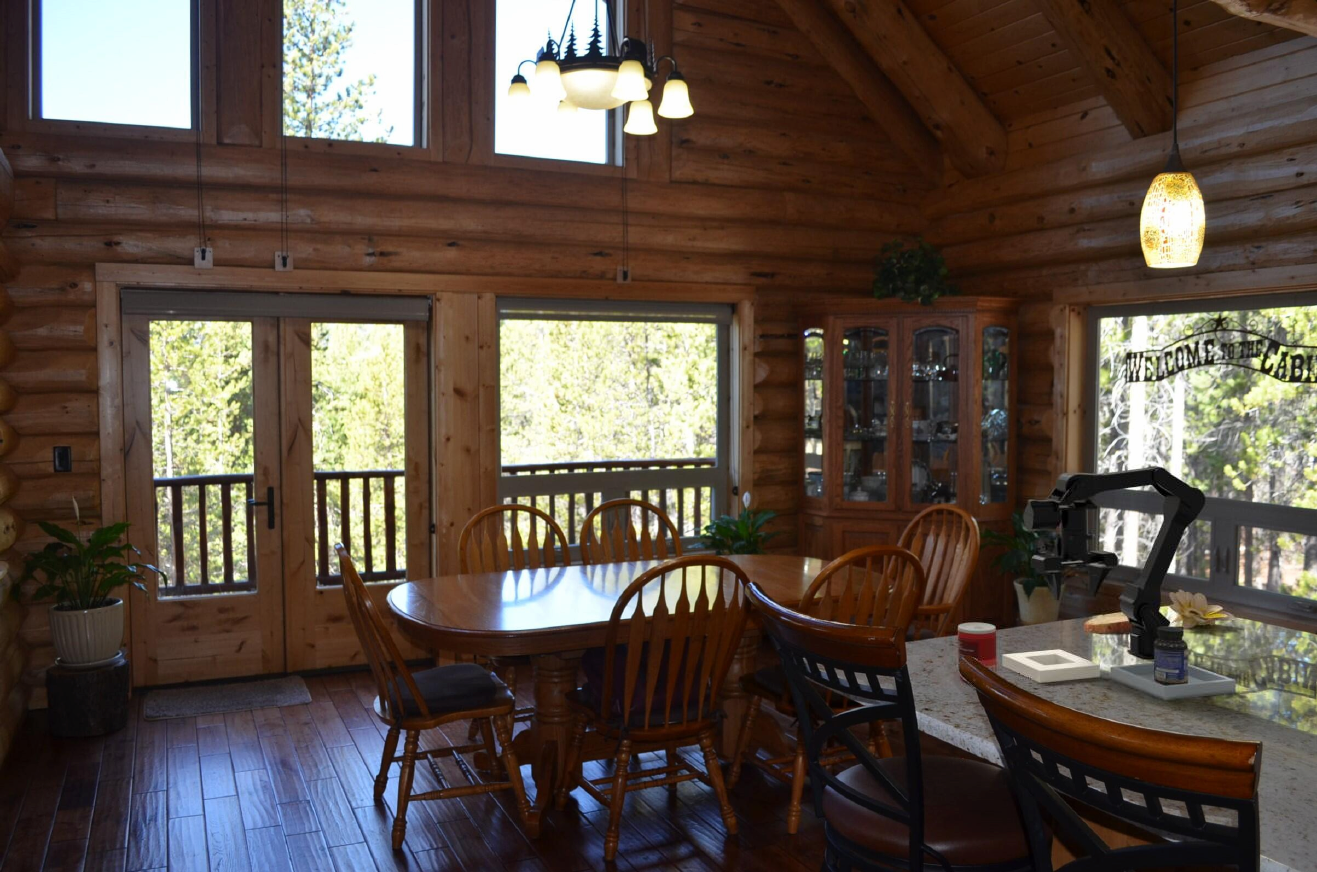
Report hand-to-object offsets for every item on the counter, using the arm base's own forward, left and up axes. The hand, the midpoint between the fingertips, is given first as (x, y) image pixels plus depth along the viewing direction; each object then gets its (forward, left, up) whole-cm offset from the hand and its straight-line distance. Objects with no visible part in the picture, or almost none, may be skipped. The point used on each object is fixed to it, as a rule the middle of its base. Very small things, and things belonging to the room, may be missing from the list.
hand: (1074, 599), depth 232 cm
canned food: (+29, +8, -13) cm, 33 cm away
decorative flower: (-45, -16, -13) cm, 49 cm away
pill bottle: (-4, +25, -13) cm, 29 cm away
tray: (-4, +25, -13) cm, 29 cm away
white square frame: (+12, +8, -13) cm, 20 cm away
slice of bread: (-28, -21, -14) cm, 38 cm away
